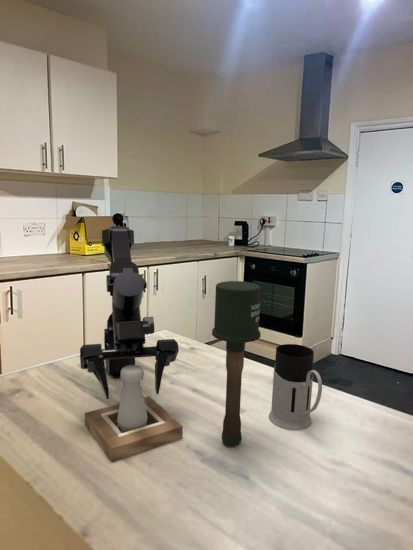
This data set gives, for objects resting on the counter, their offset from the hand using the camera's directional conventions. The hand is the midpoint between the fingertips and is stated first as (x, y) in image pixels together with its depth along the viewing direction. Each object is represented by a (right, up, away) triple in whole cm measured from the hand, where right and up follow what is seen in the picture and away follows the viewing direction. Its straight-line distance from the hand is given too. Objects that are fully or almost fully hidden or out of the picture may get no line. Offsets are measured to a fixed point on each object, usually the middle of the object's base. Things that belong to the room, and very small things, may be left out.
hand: (133, 396), depth 79 cm
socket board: (-1, -8, +3) cm, 8 cm away
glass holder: (+32, -8, +6) cm, 33 cm away
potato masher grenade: (+18, -9, 0) cm, 20 cm away
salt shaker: (-1, -8, +3) cm, 8 cm away
